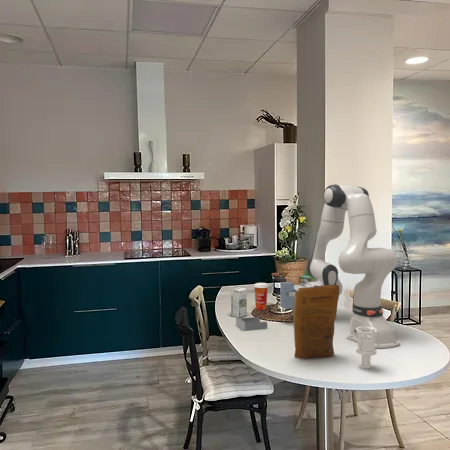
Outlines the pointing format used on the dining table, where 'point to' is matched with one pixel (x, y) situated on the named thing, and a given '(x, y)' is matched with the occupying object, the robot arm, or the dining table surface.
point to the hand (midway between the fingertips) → (285, 293)
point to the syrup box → (239, 302)
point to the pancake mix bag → (315, 321)
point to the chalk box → (306, 279)
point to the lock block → (286, 295)
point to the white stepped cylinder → (366, 345)
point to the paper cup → (261, 295)
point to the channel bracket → (250, 323)
